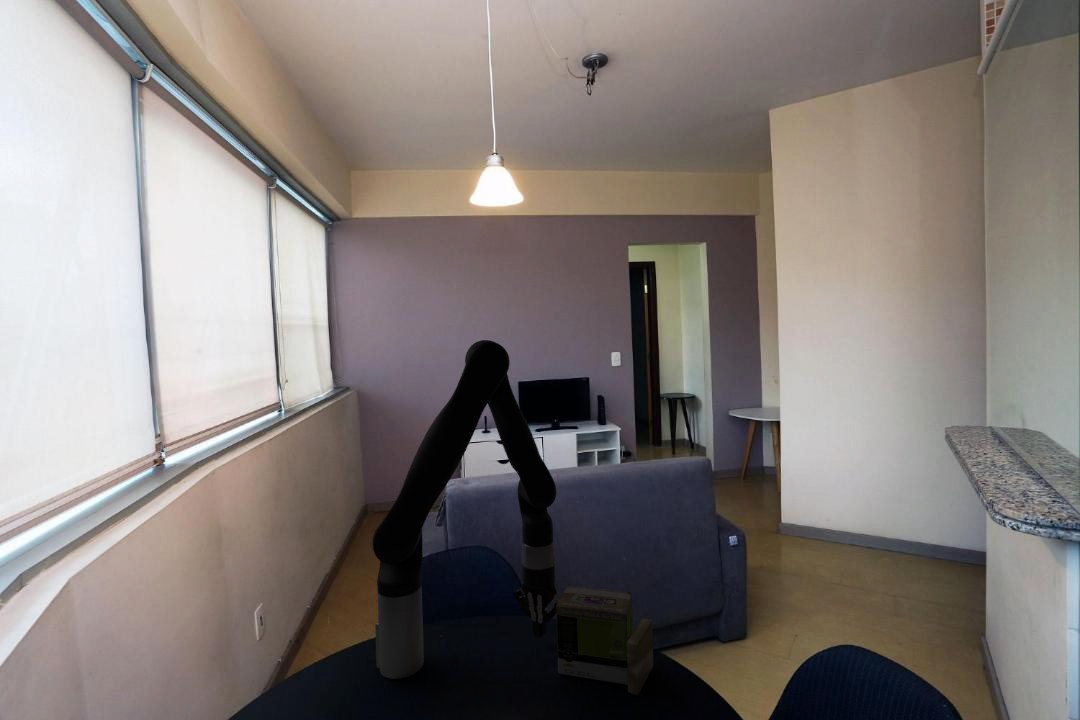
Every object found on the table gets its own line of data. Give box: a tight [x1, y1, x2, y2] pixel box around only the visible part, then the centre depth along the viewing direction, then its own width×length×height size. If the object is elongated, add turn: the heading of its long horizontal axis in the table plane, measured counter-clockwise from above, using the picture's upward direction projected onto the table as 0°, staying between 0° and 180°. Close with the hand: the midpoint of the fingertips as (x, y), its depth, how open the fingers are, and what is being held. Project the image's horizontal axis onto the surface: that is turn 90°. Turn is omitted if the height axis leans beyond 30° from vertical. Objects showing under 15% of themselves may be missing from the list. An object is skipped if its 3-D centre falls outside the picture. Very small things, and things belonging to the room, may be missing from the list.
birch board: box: [627, 618, 654, 696], centre depth 102 cm, size 2×10×10 cm, turn 150°
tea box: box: [555, 585, 634, 686], centre depth 107 cm, size 15×10×15 cm
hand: (539, 636), depth 114 cm, fingers closed
